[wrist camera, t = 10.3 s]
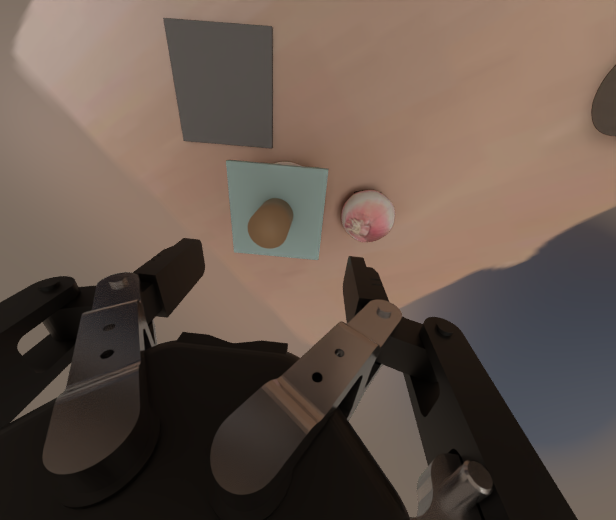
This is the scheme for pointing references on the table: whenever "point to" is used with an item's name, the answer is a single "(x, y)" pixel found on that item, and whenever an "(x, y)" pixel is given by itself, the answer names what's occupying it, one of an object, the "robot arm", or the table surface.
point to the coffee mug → (606, 105)
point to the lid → (276, 208)
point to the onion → (368, 215)
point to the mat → (223, 81)
